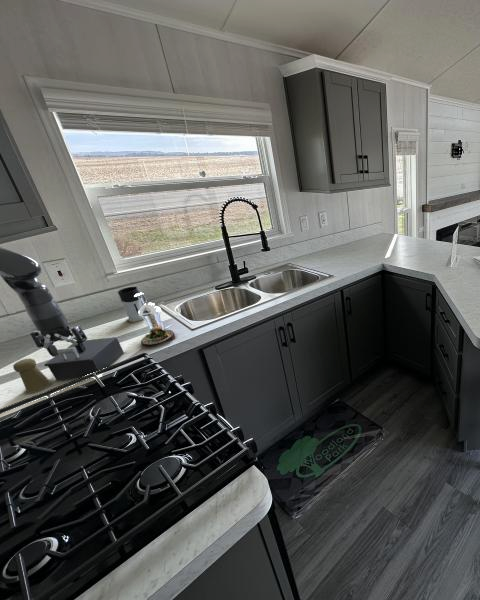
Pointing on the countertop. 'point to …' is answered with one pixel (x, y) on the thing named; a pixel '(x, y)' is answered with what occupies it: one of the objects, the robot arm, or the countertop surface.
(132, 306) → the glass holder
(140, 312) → the cup with straw
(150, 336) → the bowl of salad
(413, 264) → the countertop surface
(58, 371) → the black hinged lid box
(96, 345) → the hatch
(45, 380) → the cork
